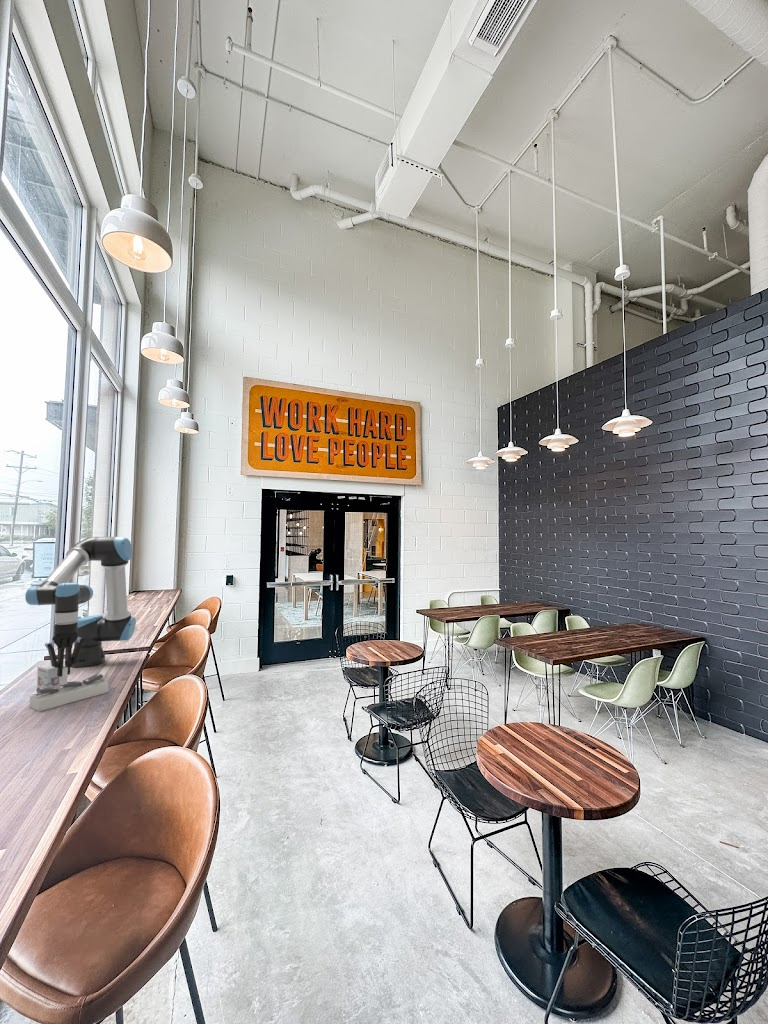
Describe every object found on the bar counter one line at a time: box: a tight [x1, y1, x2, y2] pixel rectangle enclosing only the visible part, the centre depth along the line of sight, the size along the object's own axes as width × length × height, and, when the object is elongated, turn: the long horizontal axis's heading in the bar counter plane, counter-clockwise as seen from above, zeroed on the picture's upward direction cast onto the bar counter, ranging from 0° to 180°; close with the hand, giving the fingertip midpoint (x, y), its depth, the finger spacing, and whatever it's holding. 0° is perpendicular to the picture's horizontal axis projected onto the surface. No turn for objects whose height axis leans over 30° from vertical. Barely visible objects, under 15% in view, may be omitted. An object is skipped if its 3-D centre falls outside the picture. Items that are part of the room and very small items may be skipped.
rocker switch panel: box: [29, 678, 109, 712], centre depth 176 cm, size 24×8×5 cm, turn 147°
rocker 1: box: [35, 687, 59, 693], centre depth 169 cm, size 6×4×1 cm, turn 147°
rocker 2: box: [60, 680, 82, 688], centre depth 176 cm, size 6×4×1 cm, turn 147°
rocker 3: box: [82, 672, 104, 685], centre depth 183 cm, size 6×4×1 cm, turn 147°
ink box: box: [36, 662, 62, 694], centre depth 180 cm, size 9×5×12 cm, turn 62°
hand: (63, 684), depth 174 cm, fingers closed
